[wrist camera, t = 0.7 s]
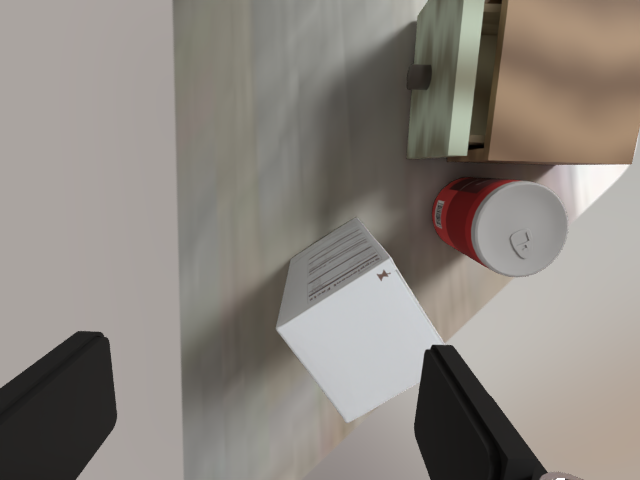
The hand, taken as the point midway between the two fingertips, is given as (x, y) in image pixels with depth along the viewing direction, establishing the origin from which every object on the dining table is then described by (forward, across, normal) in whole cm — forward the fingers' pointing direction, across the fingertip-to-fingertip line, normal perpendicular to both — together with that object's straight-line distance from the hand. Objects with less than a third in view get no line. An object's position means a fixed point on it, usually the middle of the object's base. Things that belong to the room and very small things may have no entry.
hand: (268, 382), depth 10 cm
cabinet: (+29, -21, -14) cm, 38 cm away
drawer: (+29, -16, -14) cm, 35 cm away
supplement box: (+29, -5, +6) cm, 30 cm away
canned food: (+29, -18, -1) cm, 34 cm away
